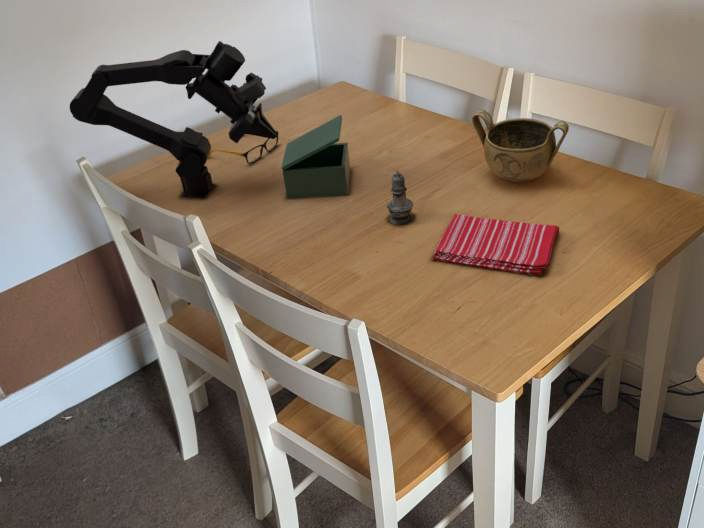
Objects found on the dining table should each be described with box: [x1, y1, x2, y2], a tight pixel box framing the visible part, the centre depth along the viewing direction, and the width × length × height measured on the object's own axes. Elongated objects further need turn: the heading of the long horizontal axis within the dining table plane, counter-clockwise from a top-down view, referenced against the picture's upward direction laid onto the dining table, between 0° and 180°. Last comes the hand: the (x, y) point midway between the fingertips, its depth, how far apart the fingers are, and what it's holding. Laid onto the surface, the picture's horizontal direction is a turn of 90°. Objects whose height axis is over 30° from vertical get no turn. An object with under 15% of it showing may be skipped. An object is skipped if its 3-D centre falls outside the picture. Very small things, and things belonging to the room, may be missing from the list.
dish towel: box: [431, 213, 560, 277], centre depth 166 cm, size 17×24×3 cm
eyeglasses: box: [208, 130, 279, 164], centre depth 211 cm, size 14×14×4 cm
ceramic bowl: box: [471, 108, 570, 183], centre depth 186 cm, size 22×17×15 cm
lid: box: [280, 114, 343, 171], centre depth 188 cm, size 15×13×1 cm
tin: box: [282, 142, 351, 199], centre depth 192 cm, size 15×13×7 cm
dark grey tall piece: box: [386, 170, 414, 226], centre depth 175 cm, size 6×6×12 cm
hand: (275, 136), depth 187 cm, fingers closed
